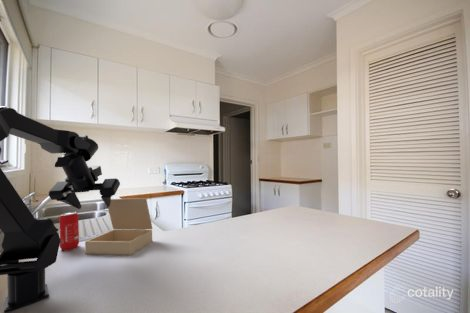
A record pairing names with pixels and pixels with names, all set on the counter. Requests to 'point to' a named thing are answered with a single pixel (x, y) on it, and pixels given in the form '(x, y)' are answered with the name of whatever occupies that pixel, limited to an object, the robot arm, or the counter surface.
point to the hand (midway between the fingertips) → (94, 206)
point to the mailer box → (118, 242)
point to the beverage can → (69, 231)
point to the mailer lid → (130, 214)
